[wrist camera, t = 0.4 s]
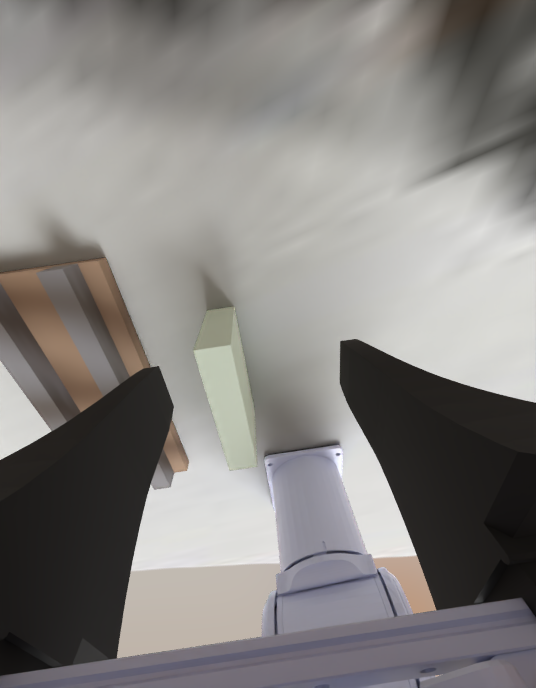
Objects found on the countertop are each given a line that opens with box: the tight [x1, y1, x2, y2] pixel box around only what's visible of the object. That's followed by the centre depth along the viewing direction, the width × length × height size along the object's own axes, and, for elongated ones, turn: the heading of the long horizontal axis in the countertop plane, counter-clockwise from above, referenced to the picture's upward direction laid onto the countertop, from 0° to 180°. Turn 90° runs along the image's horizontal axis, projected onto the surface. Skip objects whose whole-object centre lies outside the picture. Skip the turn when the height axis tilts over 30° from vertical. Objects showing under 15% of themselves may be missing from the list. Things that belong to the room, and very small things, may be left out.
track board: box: [0, 258, 189, 490], centre depth 20 cm, size 20×9×2 cm, turn 7°
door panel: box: [193, 307, 257, 471], centre depth 19 cm, size 10×2×6 cm, turn 7°
